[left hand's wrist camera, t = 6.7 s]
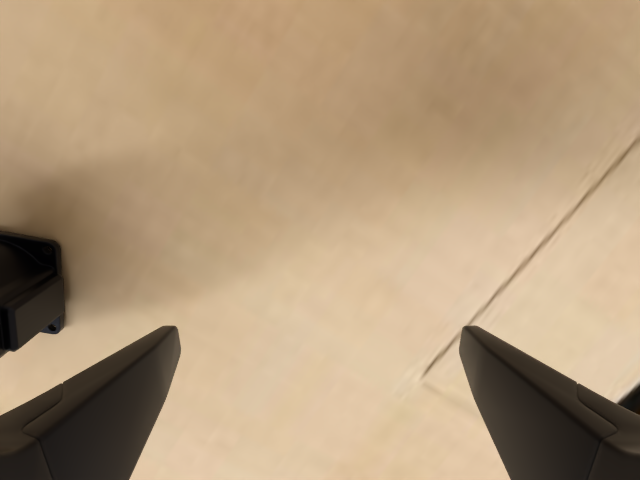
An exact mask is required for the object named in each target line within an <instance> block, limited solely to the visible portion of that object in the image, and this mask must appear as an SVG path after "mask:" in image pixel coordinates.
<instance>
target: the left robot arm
mask: <svg viewBox="0 0 640 480" xmlns="http://www.w3.org/2000/svg"><path fill="white" fill-rule="evenodd" d="M48 247H50V248H51V250H52V251H50V250H49V249H48ZM64 311H65V306H64V285H63V277H62V270H61V249H60V246H59V244H58V243H57V242H55V241H53V240H49V239H43V238H38V237H32V236H26V235H21V234H15V233H10V232H4V231H0V358H1V357H2V356H3V355H4V354H6V353H7V352H8V351H13V352H15V351H17V350H18V349H19V348H21V347H22V346H23V345H24V344H26V343H27V342H28V341H29V340H30V339H32V338H33V337H34V336H35V335H37V334H38V333H39V332H42V333H49V334H57V333H59V332H60V331H61V330H62V329H63V328H64ZM53 325H55V326H56V327H54V326H53ZM180 354H181V346H180V340H179V333H178V329H177V327H176V326H162V327H160V328H158V329H157V330H155V331H153V332H151V333H149V334H148V335H146V336H144V337H142V338H141V339H139V340H137V341H135V342H134V343H132V344H130V345H128V346H126V347H125V348H123V349H121V350H119V351H118V352H116V353H114V354H112V355H111V356H109V357H107V358H105V359H103V360H102V361H100V362H98V363H96V364H95V365H93V366H91V367H89V368H88V369H86V370H84V371H82V372H80V373H79V374H77V375H75V376H73V377H72V378H70V379H68V380H66V381H64V382H63V384H59V385H57V386H56V387H54V388H52V389H50V390H49V391H47V392H45V393H43V394H41V395H39V396H38V397H36V398H34V399H32V400H30V401H28V402H26V403H24V404H22V405H20V406H18V407H16V408H15V409H13V410H11V411H9V412H7V413H5V414H3V415H1V416H0V480H129V479H130V477H131V475H132V472H133V470H134V468H135V466H136V464H137V461H138V459H139V457H140V455H141V453H142V450H143V448H144V446H145V444H146V442H147V439H148V437H149V435H150V433H151V431H152V429H153V426H154V424H155V422H156V420H157V418H158V415H159V413H160V411H161V409H162V407H163V404H164V402H165V400H166V397H167V394H168V391H169V388H170V385H171V382H172V379H173V376H174V373H175V370H176V367H177V364H178V361H179V357H180ZM459 354H460V357H461V361H462V364H463V367H464V370H465V373H466V376H467V379H468V382H469V385H470V388H471V391H472V394H473V397H474V400H475V402H476V404H477V407H478V409H479V411H480V413H481V415H482V418H483V420H484V422H485V424H486V426H487V429H488V431H489V433H490V435H491V437H492V439H493V442H494V444H495V446H496V448H497V450H498V453H499V455H500V457H501V459H502V461H503V464H504V466H505V468H506V470H507V472H508V475H509V477H510V479H511V480H640V416H639V415H637V414H635V413H633V412H631V411H629V410H627V409H625V408H624V407H622V406H620V405H618V404H616V403H614V402H612V401H610V400H608V399H606V398H604V397H602V396H601V395H599V394H597V393H595V392H593V391H591V390H590V389H588V388H586V387H584V386H583V385H581V384H577V382H576V381H574V380H572V379H570V378H568V377H567V376H565V375H563V374H561V373H560V372H558V371H556V370H554V369H552V368H551V367H549V366H547V365H545V364H544V363H542V362H540V361H538V360H537V359H535V358H533V357H531V356H529V355H528V354H526V353H524V352H522V351H521V350H519V349H517V348H515V347H514V346H512V345H510V344H508V343H506V342H505V341H503V340H501V339H499V338H498V337H496V336H494V335H492V334H490V333H489V332H487V331H485V330H483V329H482V328H480V327H478V326H464V327H463V329H462V333H461V339H460V346H459Z"/></svg>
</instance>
